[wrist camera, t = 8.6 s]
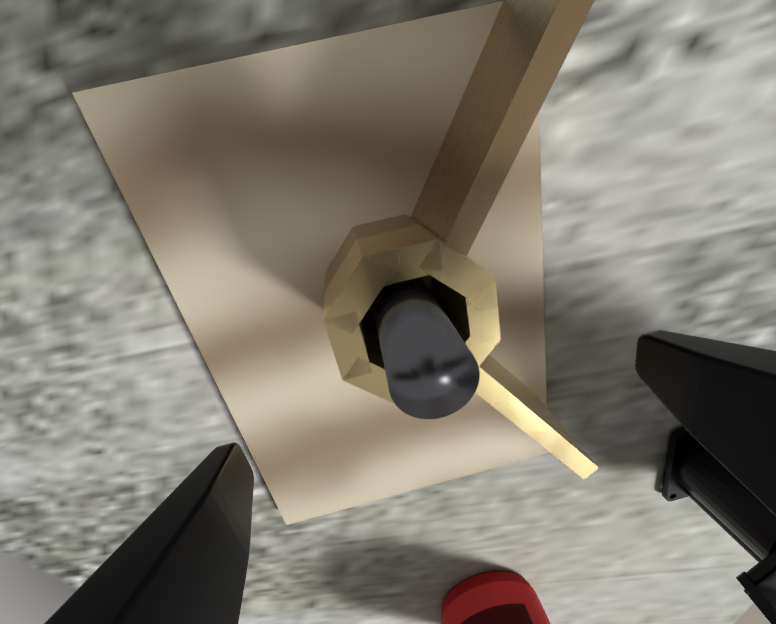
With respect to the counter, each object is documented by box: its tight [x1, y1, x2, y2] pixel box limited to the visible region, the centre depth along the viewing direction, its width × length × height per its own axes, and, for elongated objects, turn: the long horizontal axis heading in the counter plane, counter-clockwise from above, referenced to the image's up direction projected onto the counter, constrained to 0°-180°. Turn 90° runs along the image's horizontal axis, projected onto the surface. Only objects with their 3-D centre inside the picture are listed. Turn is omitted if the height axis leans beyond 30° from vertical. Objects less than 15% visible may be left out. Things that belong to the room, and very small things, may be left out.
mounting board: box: [72, 1, 548, 525], centre depth 17 cm, size 22×16×1 cm
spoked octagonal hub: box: [323, 0, 599, 479], centre depth 14 cm, size 18×9×5 cm, turn 12°
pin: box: [372, 277, 480, 419], centre depth 12 cm, size 2×2×8 cm
